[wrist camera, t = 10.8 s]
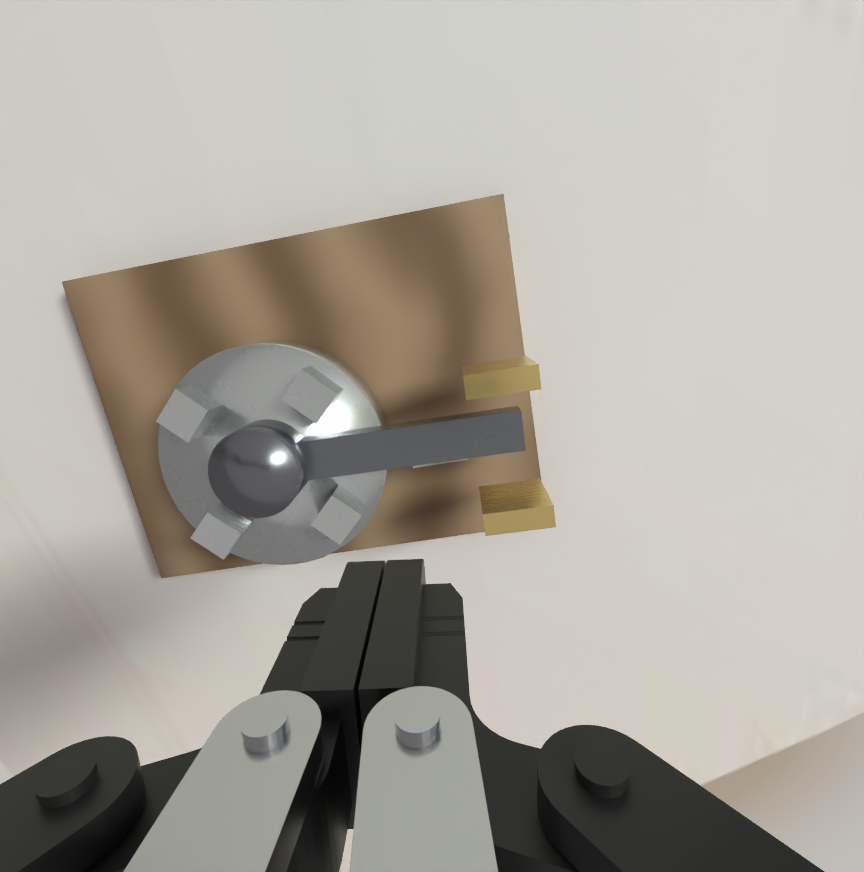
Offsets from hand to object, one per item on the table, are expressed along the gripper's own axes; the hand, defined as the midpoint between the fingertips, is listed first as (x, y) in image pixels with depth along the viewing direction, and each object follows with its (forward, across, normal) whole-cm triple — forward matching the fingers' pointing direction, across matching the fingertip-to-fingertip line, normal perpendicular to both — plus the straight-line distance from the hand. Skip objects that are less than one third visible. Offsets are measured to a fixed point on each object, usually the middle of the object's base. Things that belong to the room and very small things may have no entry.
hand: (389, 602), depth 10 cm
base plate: (+20, +6, -1) cm, 21 cm away
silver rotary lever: (+18, +4, +1) cm, 19 cm away
